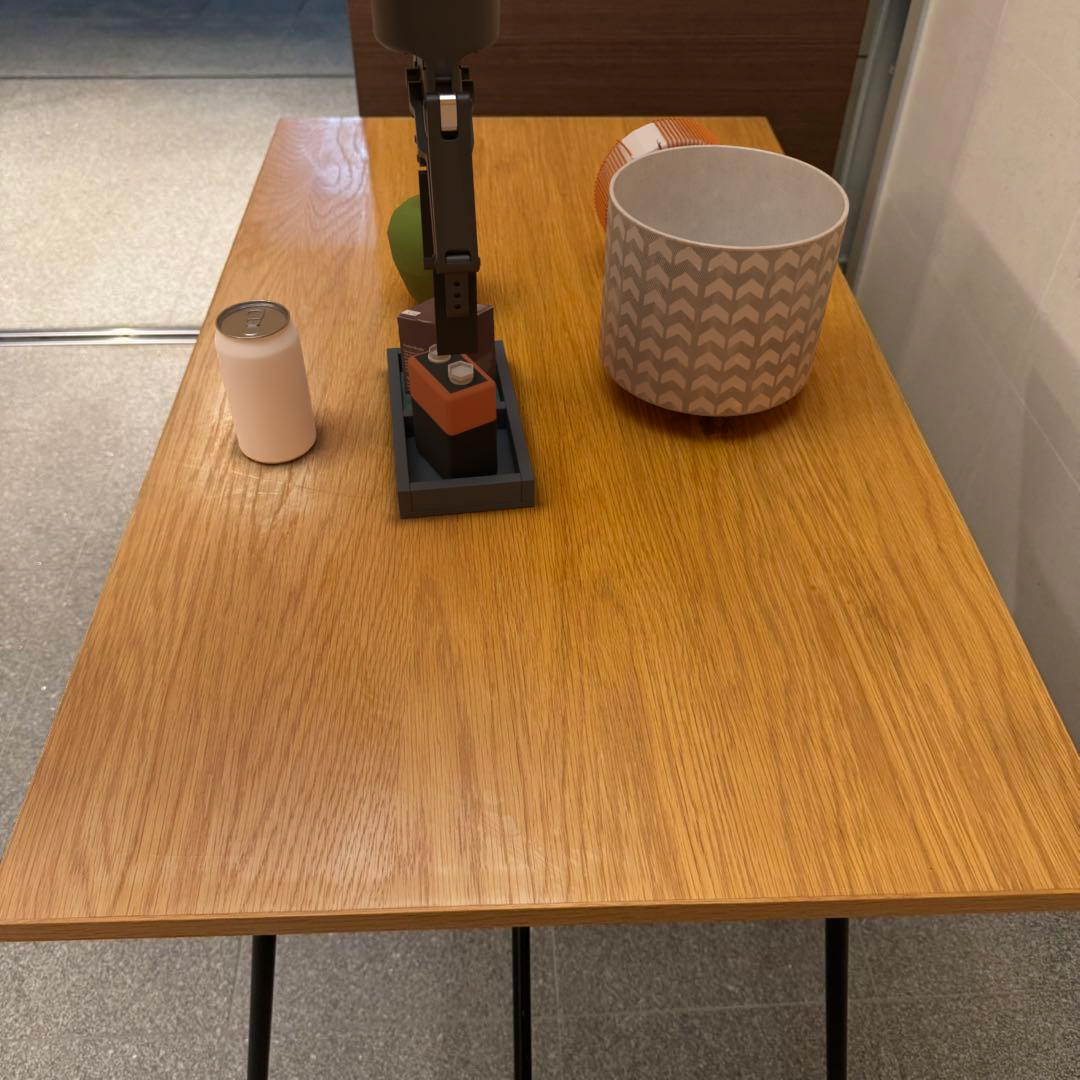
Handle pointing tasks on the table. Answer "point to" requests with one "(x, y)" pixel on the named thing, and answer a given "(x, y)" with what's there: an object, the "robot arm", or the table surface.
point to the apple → (410, 249)
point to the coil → (646, 151)
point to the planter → (717, 276)
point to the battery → (453, 414)
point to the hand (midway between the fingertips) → (448, 300)
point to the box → (421, 335)
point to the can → (265, 381)
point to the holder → (437, 496)
